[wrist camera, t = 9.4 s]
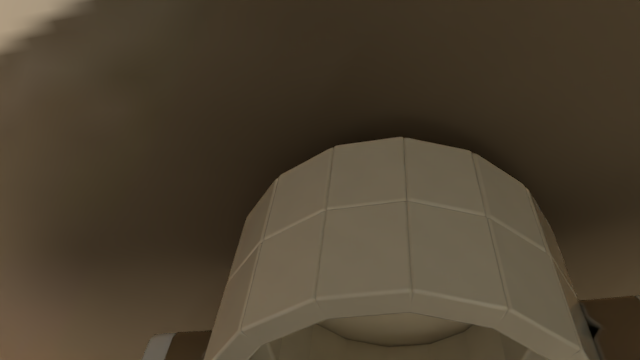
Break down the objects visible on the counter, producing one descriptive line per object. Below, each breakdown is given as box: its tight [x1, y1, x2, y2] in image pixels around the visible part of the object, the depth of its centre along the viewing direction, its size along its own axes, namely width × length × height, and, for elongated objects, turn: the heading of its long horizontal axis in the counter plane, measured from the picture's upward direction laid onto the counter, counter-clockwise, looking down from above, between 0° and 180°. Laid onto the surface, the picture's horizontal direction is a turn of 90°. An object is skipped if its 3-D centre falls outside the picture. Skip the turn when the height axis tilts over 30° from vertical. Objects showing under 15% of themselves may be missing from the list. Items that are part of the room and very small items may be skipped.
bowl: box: [204, 137, 600, 360], centre depth 12 cm, size 7×7×4 cm
